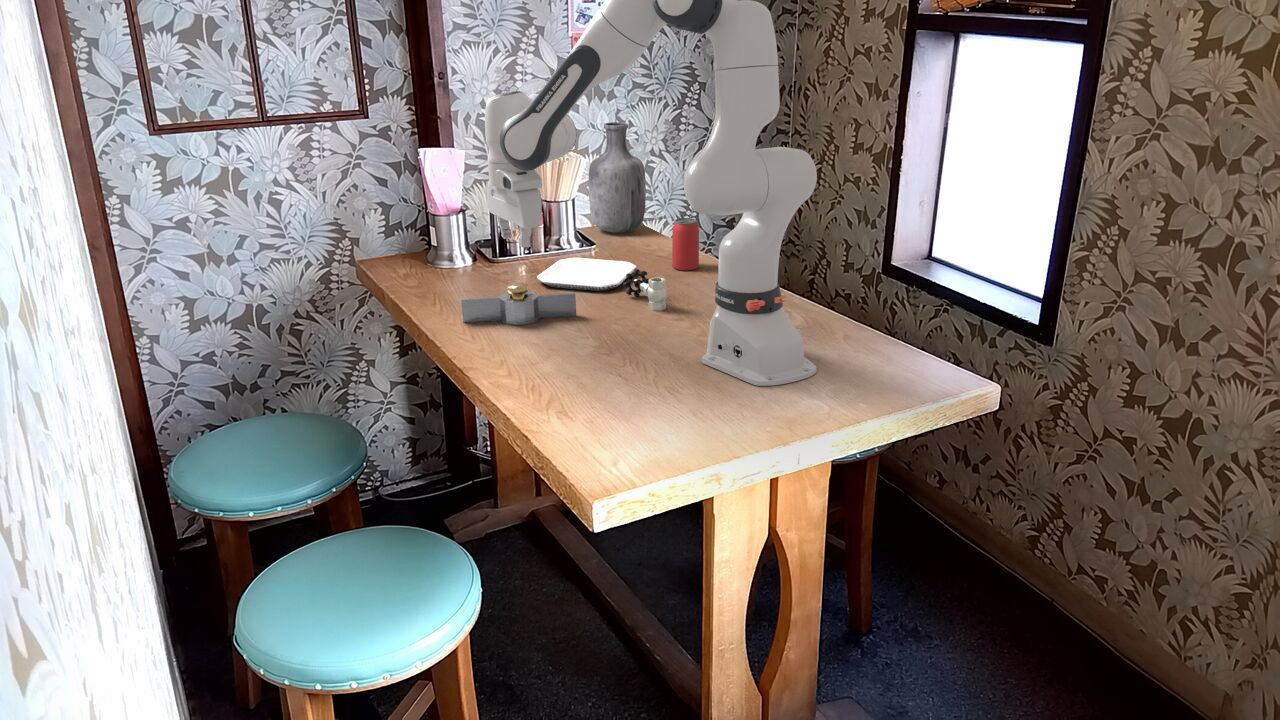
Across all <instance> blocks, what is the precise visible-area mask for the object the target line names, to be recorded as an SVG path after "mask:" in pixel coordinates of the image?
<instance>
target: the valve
mask: <svg viewBox="0 0 1280 720" xmlns="http://www.w3.org/2000/svg"><path fill="white" fill-rule="evenodd" d="M646 276H648V272H647V271H645V270H642V271H641V270H640V269H639V268H637V269H634V272H633V273H632V274H630V273H627V274H626V277H627V278H626V279H628V280H627V281H623V282H622V283H623V284H622V286H623V287H624V288H626V289H627V288H628V289H627V290H626V292H625V293H626V295H628V296H632V293H633V296H634V297H635V298H639V297H640V296H641V294H640V293H643V294H644V295H645V297H647V299H648V309H649V310H651V311H653V312H654V311H658V312H659V311H660V312H661V311H663V310H665V309H666V308H667V301H666V300H667V298H668V297H667V296H668V293H667V289H666V288H667V280H666V279H665V278H664V277H660V276H659V277H657V276H656V277H651V278H647V277H646ZM636 277H640V278H641V279H635V278H636ZM631 285H633V286H634V288H636V289H634V288H632V286H631Z"/></svg>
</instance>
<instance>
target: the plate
mask: <svg viewBox="0 0 1280 720" xmlns="http://www.w3.org/2000/svg"><path fill="white" fill-rule="evenodd" d="M634 269H638V267H637V265H636V264H633V263H632V262H629V261H625V260H624V261H623V260H611V259H601V258H600V259H598V258H597V259H596V258H586V257H584V258H583V257H569V258H563V259H559V260H557V261H556V262H555V263H553V264H552V265H551V266H549V267H548V268H547V269H545V270H544V271H542V272H541V273H539V274H538V275H537V276H536V279H537V280H538V281H540V282H541V283H542V284H545V285H547V286H549V287H552V288H559V289H572V290H582V291H593V292H594V291H595V292H602V291H604V292H605V291H608V290H609V291H610V290H614V289H616V288H617V287H619V286H620V285H621V284H622V283H624V282H625V281H626V279H628V278H627V277H626V274H627V273H630V274H631V275H633V274H634Z"/></svg>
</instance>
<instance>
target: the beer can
mask: <svg viewBox="0 0 1280 720" xmlns="http://www.w3.org/2000/svg"><path fill="white" fill-rule="evenodd" d="M671 232H672V233H671V235H672V236H671V237H672V238H671V239H672V243H671V244H672V245H671V246H672V247H671V251H672V255H671V258H672V259H671V262H672V263H671V265H672V267H673V269H675V270H677V271H684V272H688V271H694V270H697V268H698V267H699V263H700V262H699V261H700V260H699V259H700V253H699V252H700V226H699V224H698V220H697V218H696V219H695V218H690V217H681V218H676V219H674V224H673V226H672V231H671Z"/></svg>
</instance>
